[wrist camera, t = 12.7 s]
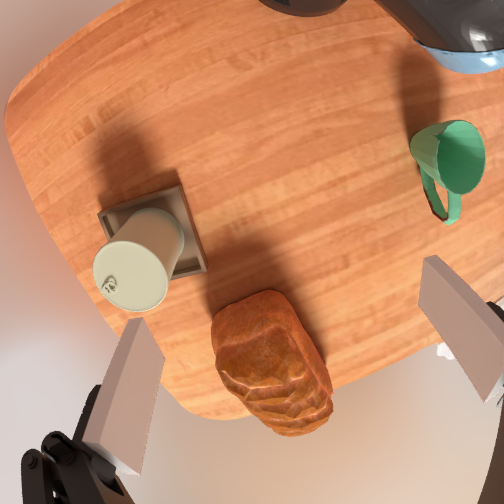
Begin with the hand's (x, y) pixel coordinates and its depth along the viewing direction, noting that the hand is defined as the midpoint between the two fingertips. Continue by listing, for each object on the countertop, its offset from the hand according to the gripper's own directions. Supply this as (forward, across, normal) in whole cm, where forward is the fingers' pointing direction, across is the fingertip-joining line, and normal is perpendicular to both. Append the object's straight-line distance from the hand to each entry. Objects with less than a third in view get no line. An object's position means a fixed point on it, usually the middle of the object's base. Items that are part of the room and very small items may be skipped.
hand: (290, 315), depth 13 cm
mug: (+29, +26, -2) cm, 39 cm away
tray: (+28, -16, -5) cm, 33 cm away
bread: (+28, -3, -31) cm, 42 cm away
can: (+28, -16, -5) cm, 32 cm away
